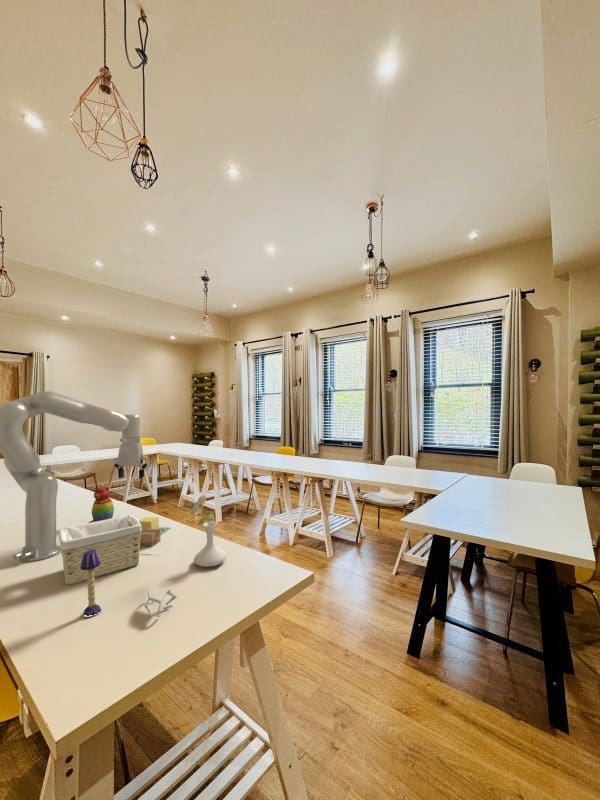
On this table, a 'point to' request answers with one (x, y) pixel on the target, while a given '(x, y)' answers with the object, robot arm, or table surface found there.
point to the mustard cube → (149, 523)
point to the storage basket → (100, 546)
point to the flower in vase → (208, 540)
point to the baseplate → (163, 530)
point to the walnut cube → (150, 537)
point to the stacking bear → (102, 505)
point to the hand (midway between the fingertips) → (131, 477)
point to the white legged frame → (158, 596)
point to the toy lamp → (91, 580)
